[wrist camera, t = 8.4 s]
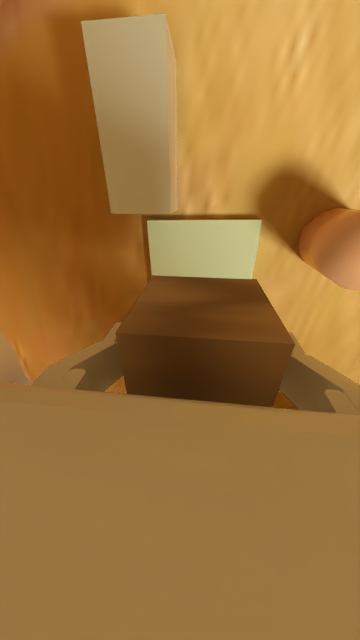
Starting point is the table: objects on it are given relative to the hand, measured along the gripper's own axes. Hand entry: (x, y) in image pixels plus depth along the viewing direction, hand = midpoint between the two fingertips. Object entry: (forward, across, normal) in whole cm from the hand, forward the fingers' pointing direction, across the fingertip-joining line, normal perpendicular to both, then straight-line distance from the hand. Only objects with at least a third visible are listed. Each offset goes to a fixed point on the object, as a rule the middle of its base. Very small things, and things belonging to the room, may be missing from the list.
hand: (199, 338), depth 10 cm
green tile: (+10, 0, 0) cm, 11 cm away
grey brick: (+11, +4, -9) cm, 15 cm away
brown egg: (+10, -10, -3) cm, 15 cm away
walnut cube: (+2, 0, 0) cm, 2 cm away
